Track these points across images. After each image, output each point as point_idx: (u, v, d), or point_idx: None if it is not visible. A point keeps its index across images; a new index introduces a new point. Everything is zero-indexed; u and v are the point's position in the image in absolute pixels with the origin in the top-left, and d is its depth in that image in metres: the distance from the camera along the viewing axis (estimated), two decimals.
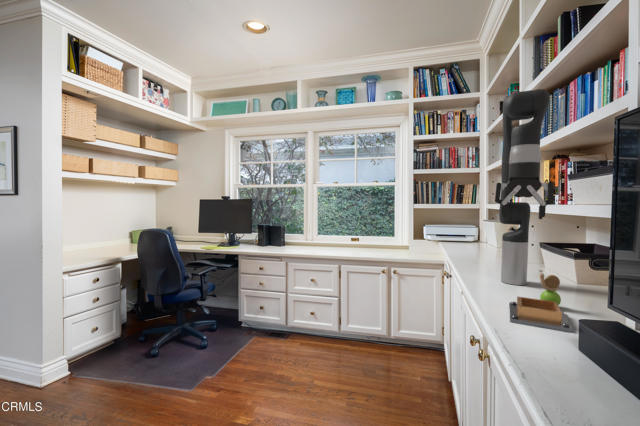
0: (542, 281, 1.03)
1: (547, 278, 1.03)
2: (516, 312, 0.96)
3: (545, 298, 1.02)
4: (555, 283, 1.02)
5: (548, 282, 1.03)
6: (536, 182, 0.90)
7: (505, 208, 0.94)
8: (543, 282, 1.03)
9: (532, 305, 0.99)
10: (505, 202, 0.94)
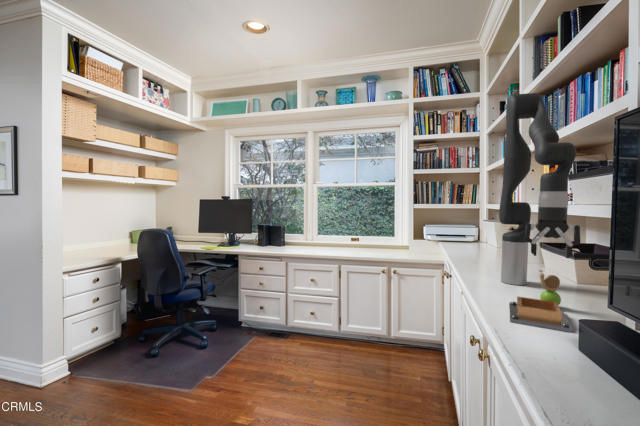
0: (542, 281, 1.03)
1: (547, 278, 1.03)
2: (516, 312, 0.96)
3: (545, 298, 1.02)
4: (555, 283, 1.02)
5: (548, 282, 1.03)
6: (564, 225, 1.00)
7: (535, 247, 1.04)
8: (543, 282, 1.03)
9: (532, 305, 0.99)
10: (535, 241, 1.04)
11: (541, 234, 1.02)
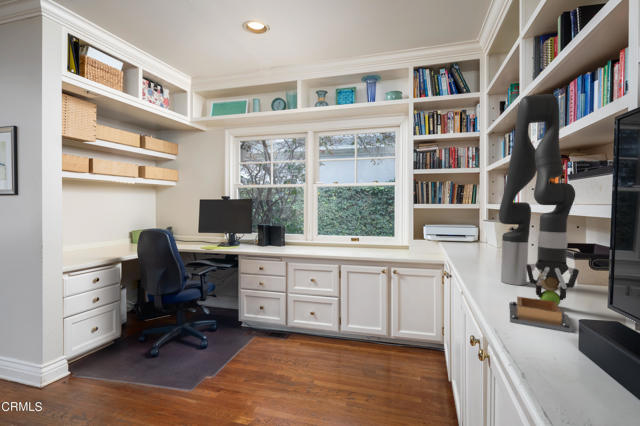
0: (542, 281, 1.03)
1: (547, 278, 1.03)
2: (516, 312, 0.96)
3: (545, 298, 1.02)
4: (555, 283, 1.02)
5: (547, 282, 1.03)
6: (564, 265, 1.00)
7: (539, 289, 1.04)
8: (543, 282, 1.03)
9: (532, 305, 0.99)
10: (540, 283, 1.03)
11: (543, 275, 1.02)
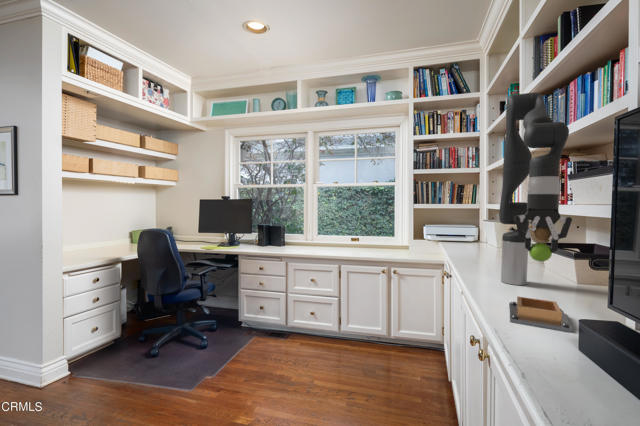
0: (531, 232, 0.93)
1: (537, 229, 0.93)
2: (516, 312, 0.96)
3: (534, 251, 0.92)
4: (546, 235, 0.92)
5: (538, 233, 0.93)
6: (556, 213, 0.90)
7: (529, 241, 0.94)
8: (532, 233, 0.93)
9: (532, 305, 0.99)
10: (529, 235, 0.93)
11: (533, 225, 0.93)
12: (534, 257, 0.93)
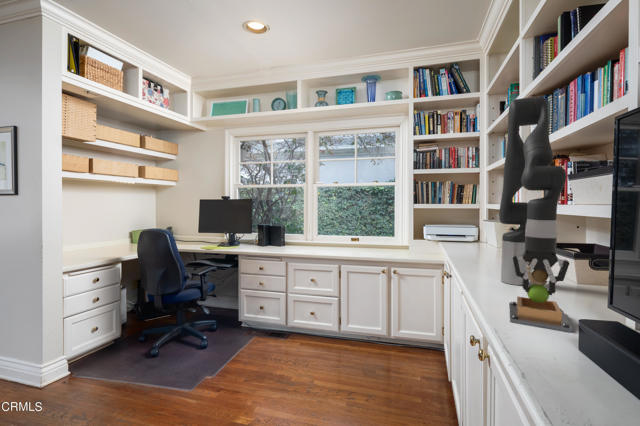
0: (529, 274, 0.94)
1: (535, 271, 0.94)
2: (516, 312, 0.96)
3: (532, 293, 0.93)
4: (543, 277, 0.93)
5: (535, 275, 0.93)
6: (553, 257, 0.91)
7: (527, 282, 0.94)
8: (530, 275, 0.93)
9: (532, 305, 0.99)
10: (527, 277, 0.94)
11: (530, 267, 0.93)
12: (532, 299, 0.94)
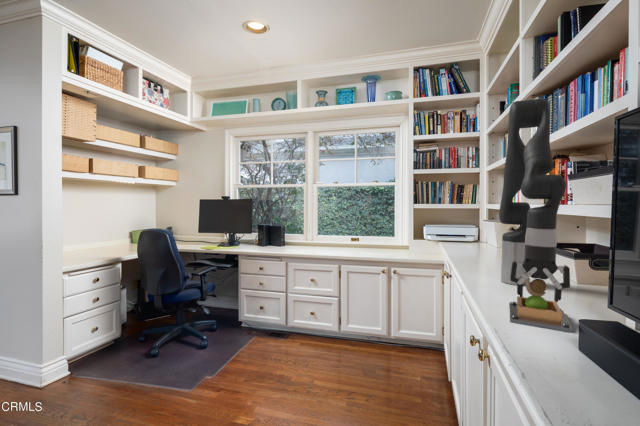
0: (527, 285, 0.94)
1: (533, 282, 0.94)
2: (516, 312, 0.96)
3: (531, 304, 0.93)
4: (541, 288, 0.93)
5: (533, 286, 0.94)
6: (552, 265, 0.91)
7: (521, 287, 0.95)
8: (528, 286, 0.94)
9: None
10: (521, 282, 0.95)
11: (528, 274, 0.94)
12: None
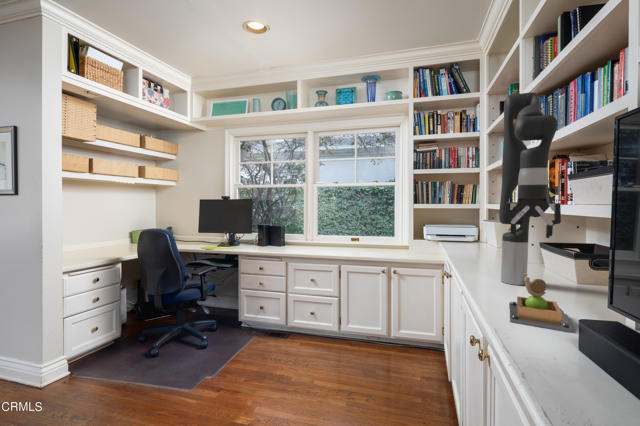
0: (527, 285, 0.94)
1: (533, 282, 0.94)
2: (516, 312, 0.96)
3: (530, 304, 0.93)
4: (541, 288, 0.93)
5: (533, 286, 0.94)
6: (544, 203, 0.95)
7: (514, 227, 0.99)
8: (528, 286, 0.94)
9: None
10: (514, 221, 0.99)
11: (521, 213, 0.97)
12: None
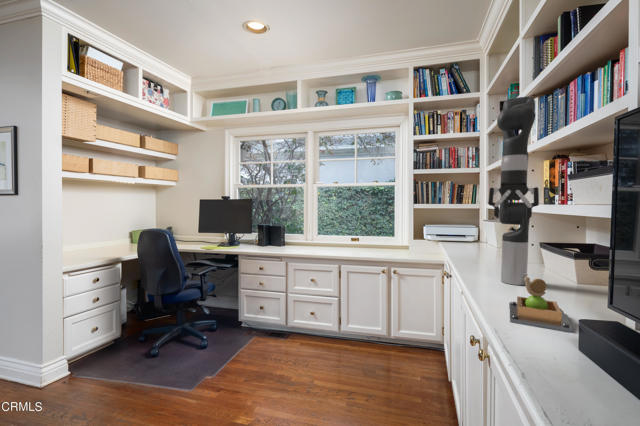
0: (527, 285, 0.94)
1: (533, 282, 0.94)
2: (516, 312, 0.96)
3: (531, 304, 0.93)
4: (541, 288, 0.93)
5: (533, 286, 0.94)
6: (524, 187, 1.04)
7: (497, 210, 1.08)
8: (528, 286, 0.94)
9: None
10: (497, 204, 1.08)
11: (503, 197, 1.06)
12: None
